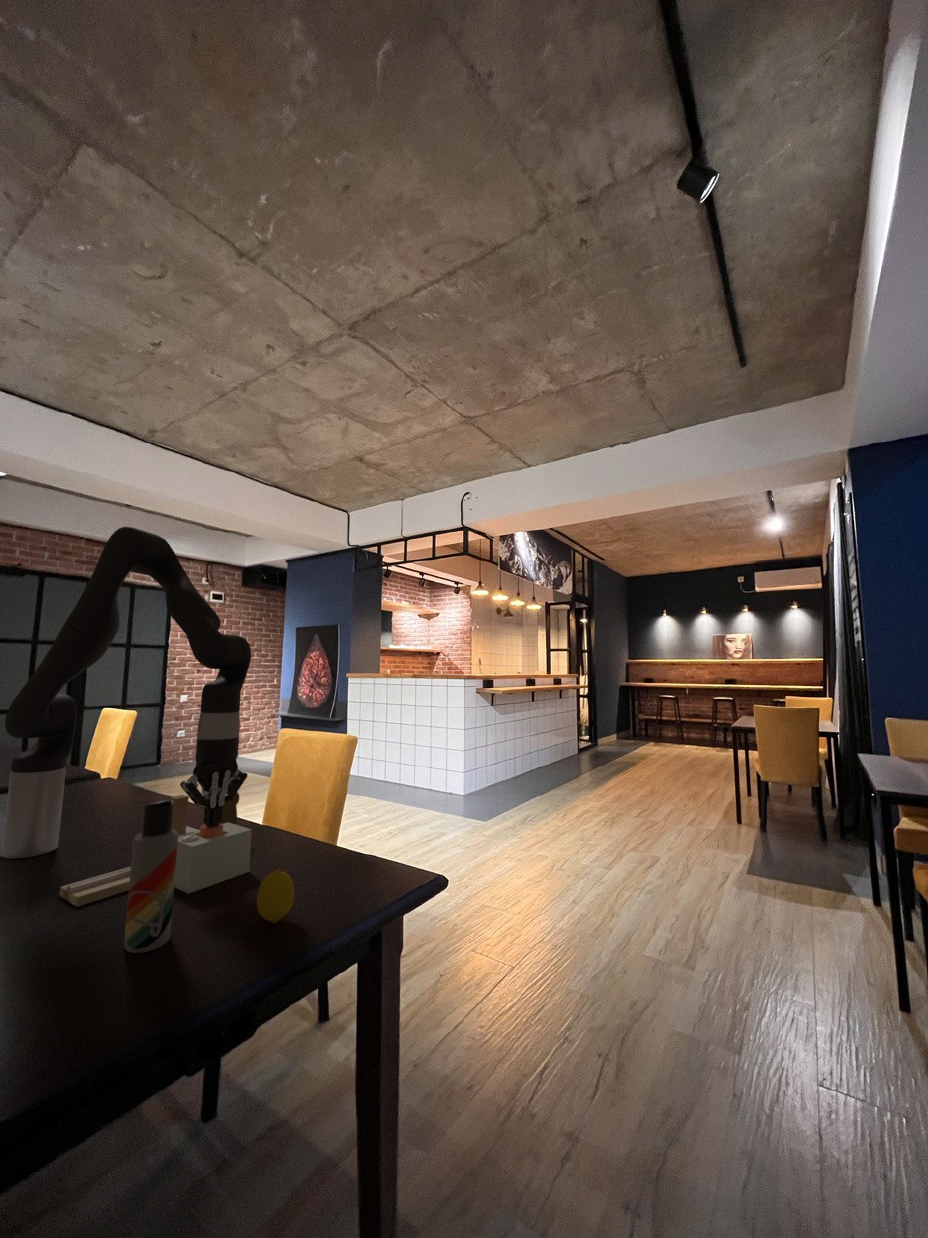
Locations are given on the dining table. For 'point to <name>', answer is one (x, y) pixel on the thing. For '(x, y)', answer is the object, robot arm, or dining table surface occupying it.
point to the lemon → (275, 896)
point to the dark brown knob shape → (230, 811)
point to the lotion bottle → (152, 880)
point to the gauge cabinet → (211, 857)
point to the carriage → (180, 814)
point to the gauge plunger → (211, 831)
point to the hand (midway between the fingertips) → (212, 826)
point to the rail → (96, 887)
